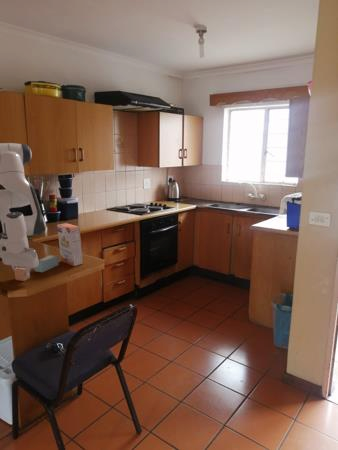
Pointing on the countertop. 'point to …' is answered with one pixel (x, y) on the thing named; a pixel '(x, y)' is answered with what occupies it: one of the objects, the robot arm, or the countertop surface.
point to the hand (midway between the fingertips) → (22, 274)
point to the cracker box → (70, 244)
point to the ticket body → (47, 263)
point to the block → (21, 274)
